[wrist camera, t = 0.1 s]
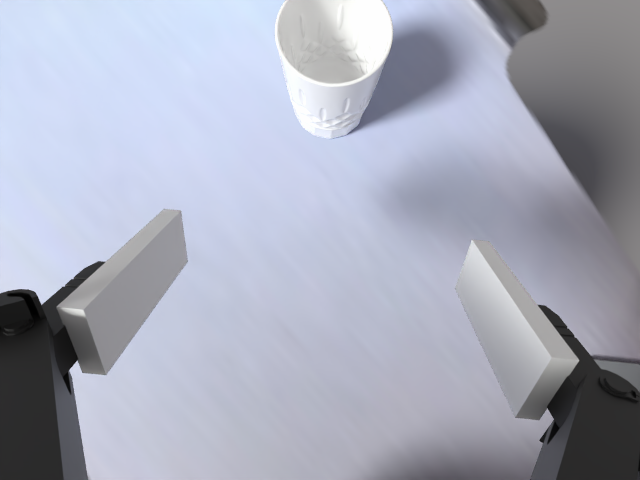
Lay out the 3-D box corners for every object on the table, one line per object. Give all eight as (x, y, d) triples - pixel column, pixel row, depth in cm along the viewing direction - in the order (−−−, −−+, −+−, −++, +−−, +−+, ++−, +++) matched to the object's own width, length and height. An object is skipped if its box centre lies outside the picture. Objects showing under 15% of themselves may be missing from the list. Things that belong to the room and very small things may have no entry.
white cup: (385, 122, 32) (414, 53, 22) (311, 159, 32) (309, 106, 22) (345, 53, 33) (357, -43, 23) (273, 89, 33) (254, 7, 23)
